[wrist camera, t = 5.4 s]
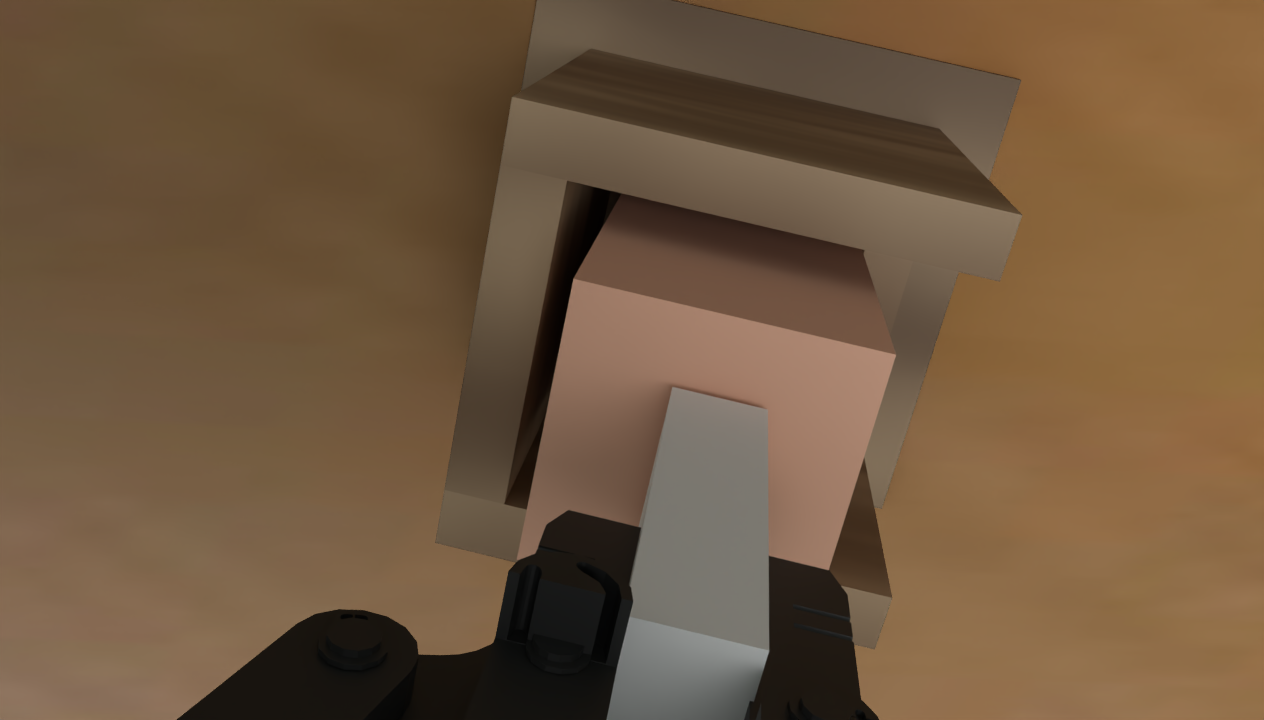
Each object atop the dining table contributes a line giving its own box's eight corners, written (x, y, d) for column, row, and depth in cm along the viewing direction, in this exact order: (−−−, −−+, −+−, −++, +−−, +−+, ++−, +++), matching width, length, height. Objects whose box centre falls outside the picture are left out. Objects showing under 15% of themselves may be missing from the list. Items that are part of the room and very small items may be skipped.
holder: (546, -31, 29) (437, -17, 19) (1015, 77, 29) (1145, 146, 19) (470, 401, 33) (349, 590, 24) (879, 499, 33) (928, 731, 23)
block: (645, 150, 28) (573, 278, 18) (845, 197, 28) (895, 354, 17) (605, 338, 30) (516, 559, 19) (792, 382, 30) (809, 631, 19)
